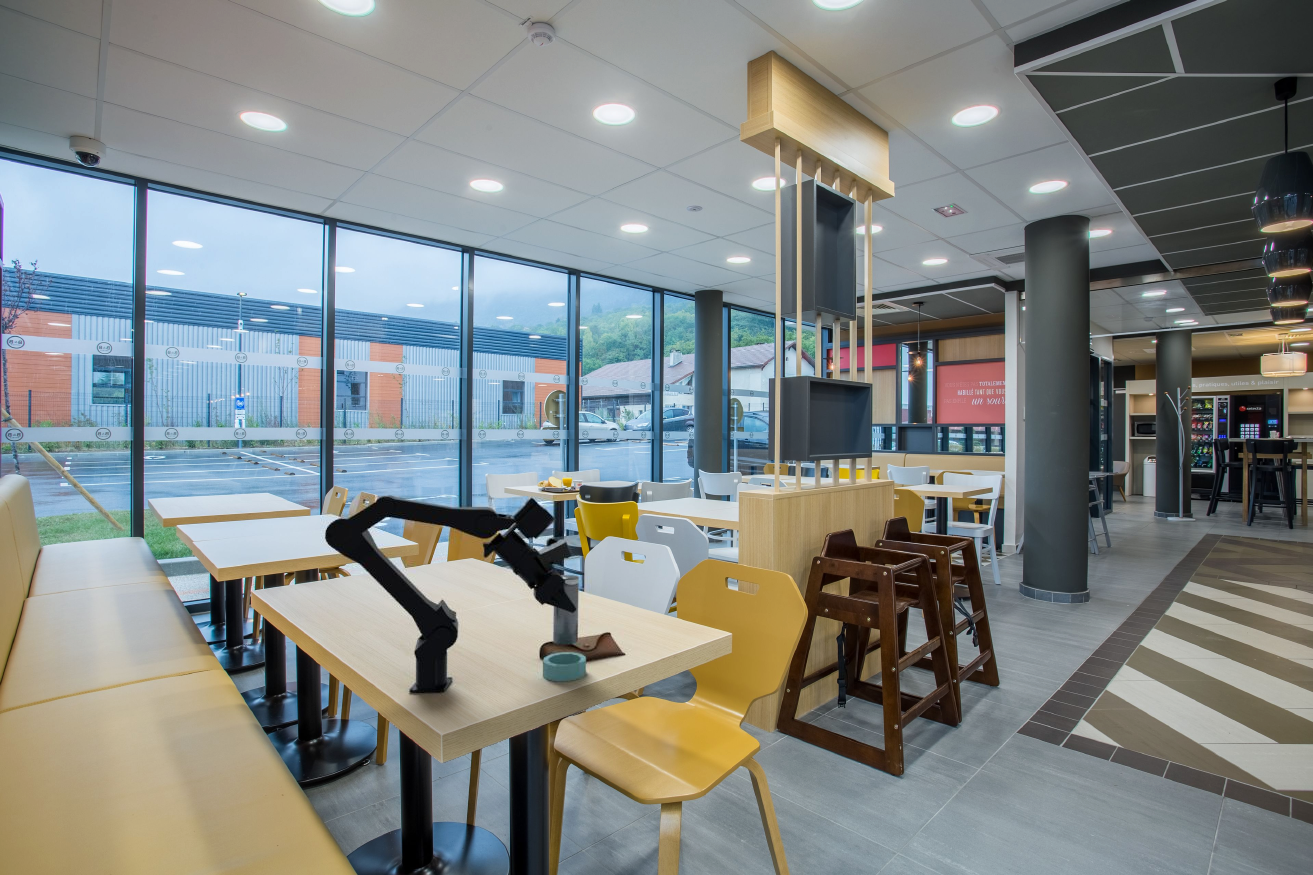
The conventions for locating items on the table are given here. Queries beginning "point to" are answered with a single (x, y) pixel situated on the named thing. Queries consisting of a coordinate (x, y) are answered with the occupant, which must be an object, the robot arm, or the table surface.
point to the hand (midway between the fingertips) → (572, 607)
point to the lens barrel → (567, 615)
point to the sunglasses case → (585, 647)
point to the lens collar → (564, 666)
